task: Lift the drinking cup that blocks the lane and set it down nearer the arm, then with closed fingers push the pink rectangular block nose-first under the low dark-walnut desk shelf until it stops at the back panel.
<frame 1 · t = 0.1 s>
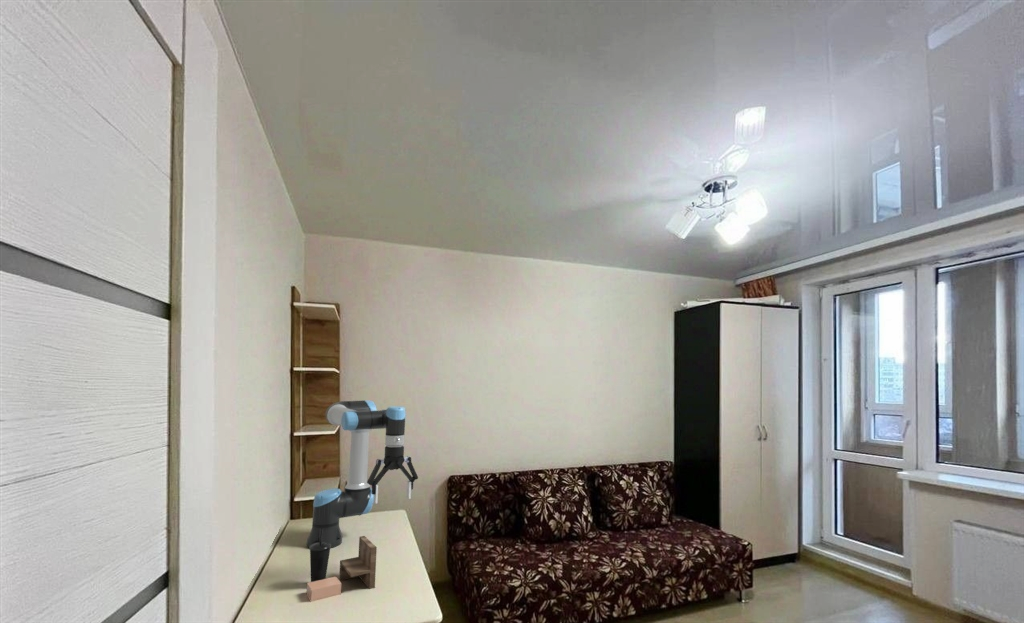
hand: (392, 500, 190), 28 cm above the table, fingers open, 13 cm apart
drinking cup: (318, 585, 177), on the table
desk shelf: (355, 583, 178), on the table
pink rectangular block: (323, 595, 169), on the table
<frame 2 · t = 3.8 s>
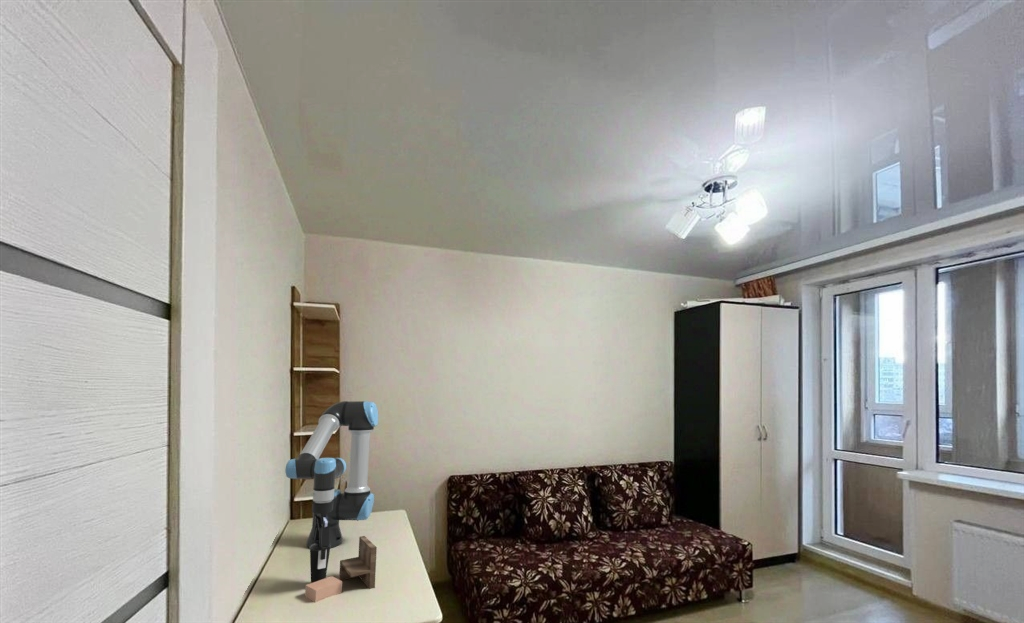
hand: (319, 564, 178), 7 cm above the table, fingers closed on drinking cup, 7 cm apart
drinking cup: (318, 585, 177), on the table, touching gripper
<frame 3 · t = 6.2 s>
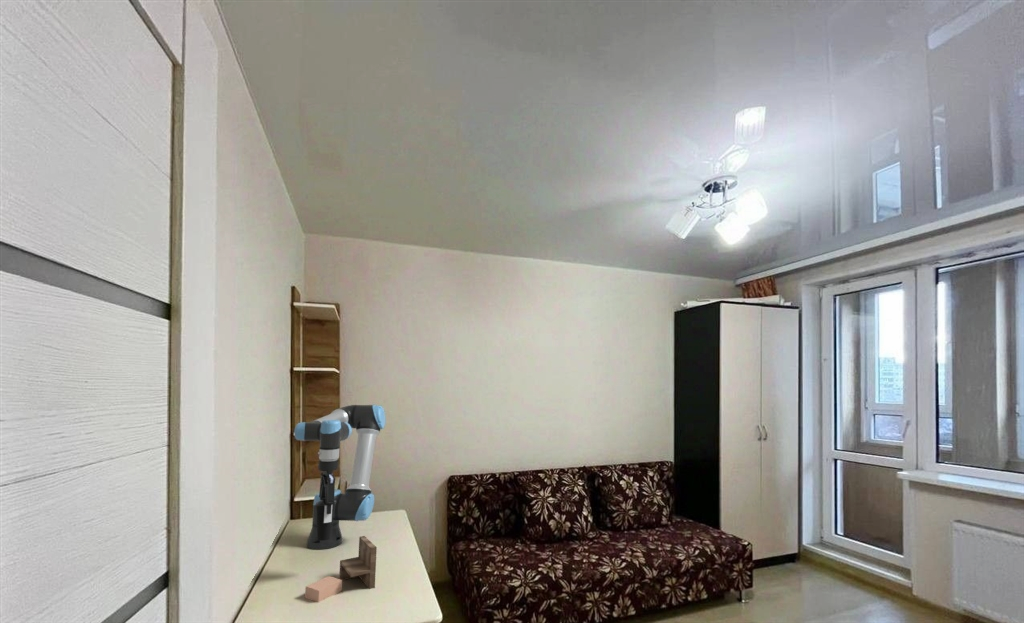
hand: (325, 519, 187), 21 cm above the table, fingers closed on drinking cup, 7 cm apart
drinking cup: (324, 539, 186), point 14 cm above the table, touching gripper
when the fingers open (9 cm above the table, at t = 8.7 s): drinking cup drops 1 cm, on the table.
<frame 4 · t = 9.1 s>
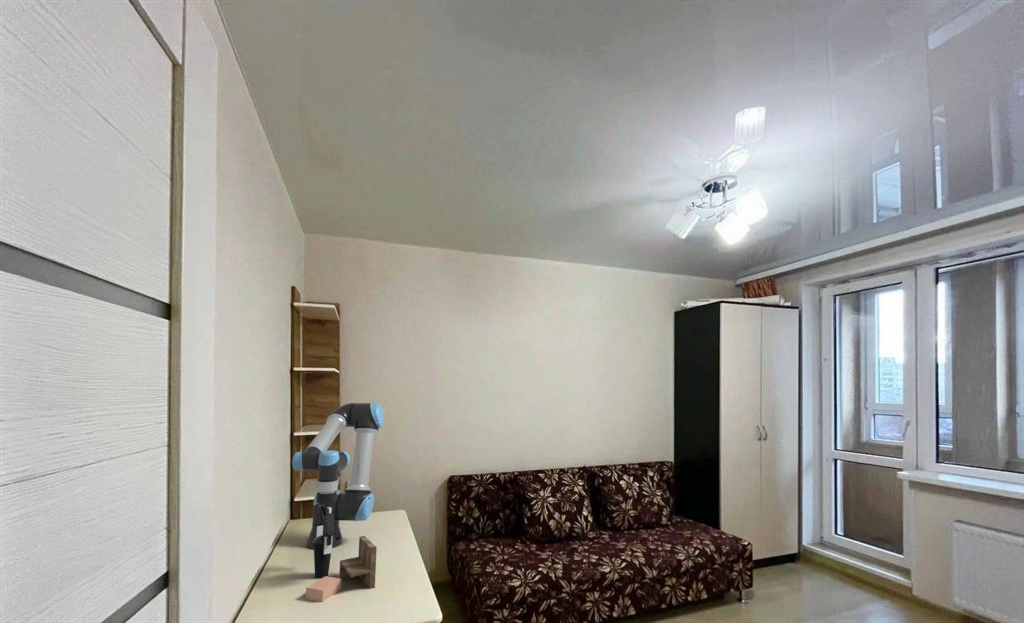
hand: (323, 548, 186), 10 cm above the table, fingers open, 13 cm apart
drinking cup: (321, 576, 185), on the table
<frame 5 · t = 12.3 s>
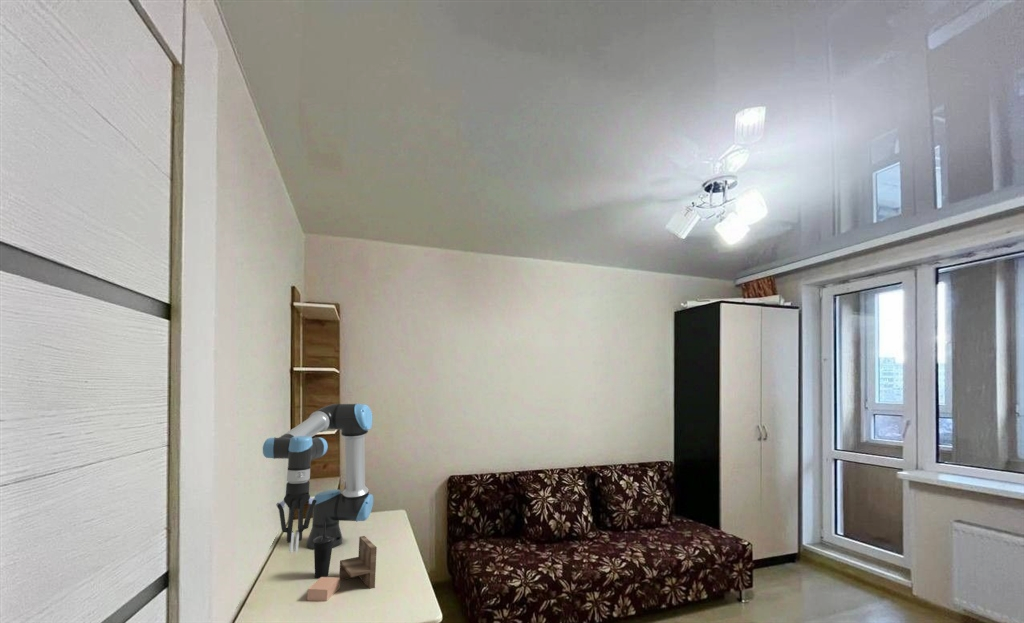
hand: (293, 551, 165), 16 cm above the table, fingers closed
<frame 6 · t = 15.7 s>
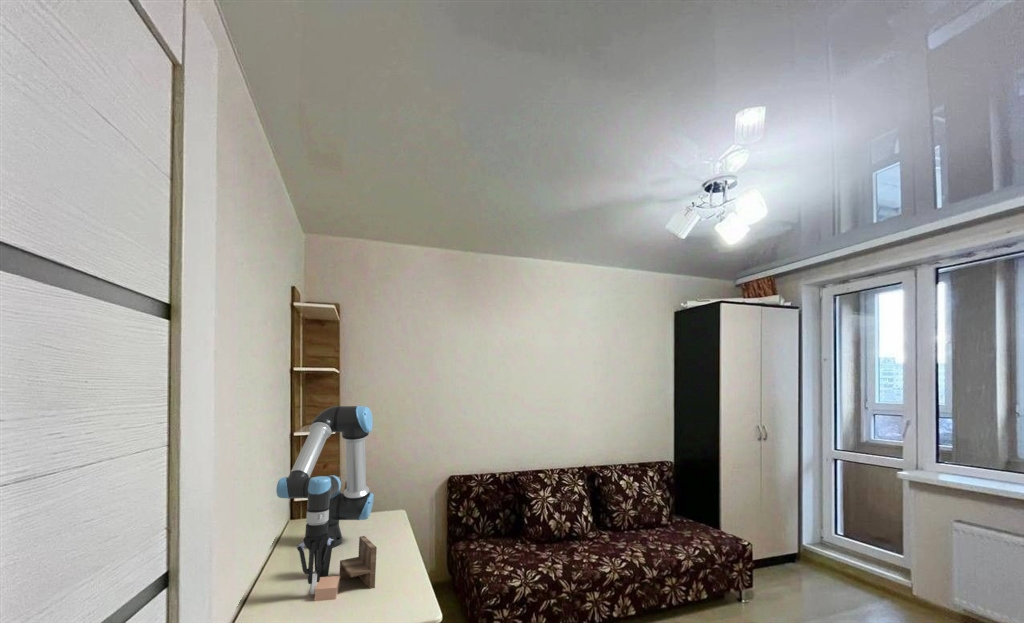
hand: (312, 592, 168), 1 cm above the table, fingers closed
pink rectangular block: (327, 594, 170), on the table
everything else where it was.
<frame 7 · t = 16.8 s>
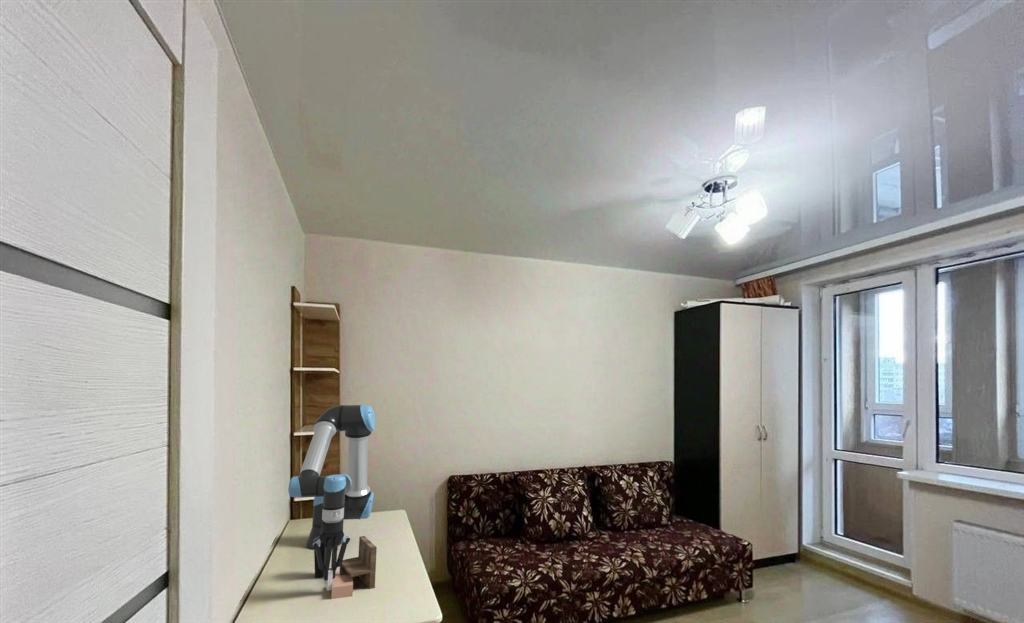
hand: (328, 588, 170), 1 cm above the table, fingers closed
pink rectangular block: (341, 592, 172), on the table, touching gripper
everything else where it was.
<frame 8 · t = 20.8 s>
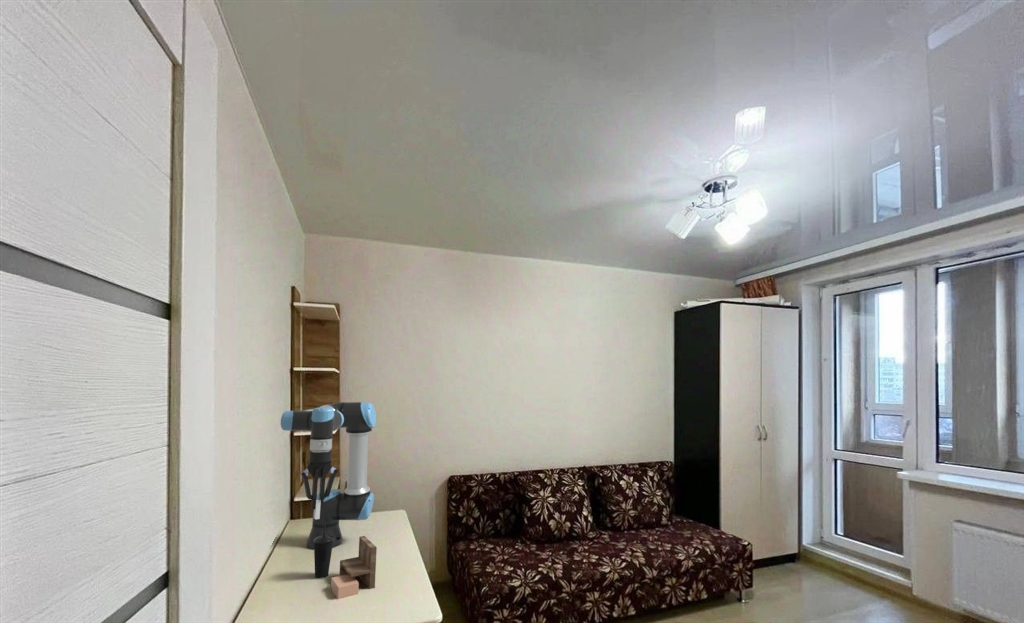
hand: (316, 518, 171), 26 cm above the table, fingers closed
pink rectangular block: (344, 592, 172), on the table
everything else where it was.
at the end: pink rectangular block inside the target area (2.9 cm from its centre), on the table; drinking cup tilted 0° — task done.
